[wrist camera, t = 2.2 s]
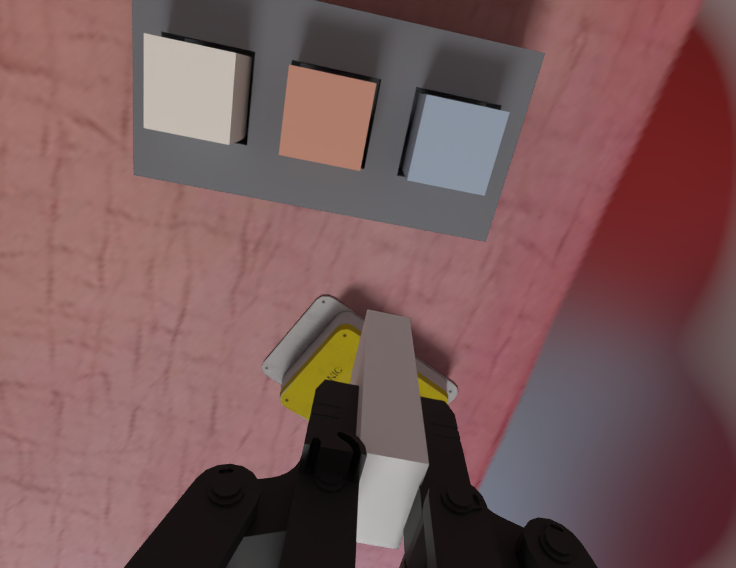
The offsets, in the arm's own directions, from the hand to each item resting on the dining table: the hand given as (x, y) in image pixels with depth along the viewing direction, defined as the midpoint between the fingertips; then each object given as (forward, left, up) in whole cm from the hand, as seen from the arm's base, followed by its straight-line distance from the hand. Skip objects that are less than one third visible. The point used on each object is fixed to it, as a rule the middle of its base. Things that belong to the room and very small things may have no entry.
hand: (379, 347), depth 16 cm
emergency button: (+2, -14, -19) cm, 24 cm away
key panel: (-4, +6, -18) cm, 20 cm away
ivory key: (-11, +6, -15) cm, 19 cm away
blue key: (+3, +6, -15) cm, 16 cm away
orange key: (-4, +6, -15) cm, 16 cm away
